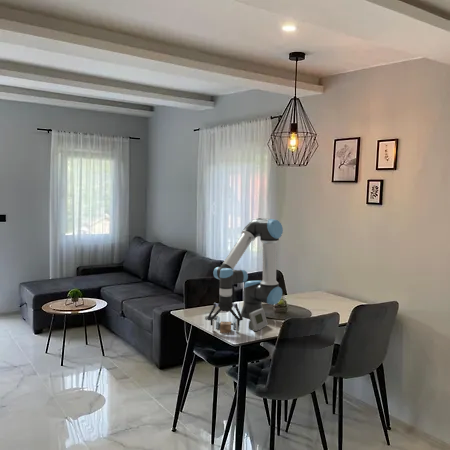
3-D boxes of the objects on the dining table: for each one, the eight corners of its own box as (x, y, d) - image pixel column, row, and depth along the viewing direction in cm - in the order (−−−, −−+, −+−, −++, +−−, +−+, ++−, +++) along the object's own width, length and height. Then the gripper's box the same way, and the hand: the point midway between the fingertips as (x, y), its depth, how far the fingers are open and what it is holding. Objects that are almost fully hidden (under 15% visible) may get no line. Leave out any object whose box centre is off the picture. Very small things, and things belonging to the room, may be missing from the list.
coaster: (219, 316, 299) (219, 315, 299) (218, 320, 290) (218, 319, 290) (205, 316, 299) (205, 315, 299) (204, 319, 291) (204, 318, 290)
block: (231, 330, 270) (231, 321, 270) (230, 333, 264) (230, 324, 264) (220, 329, 270) (221, 321, 270) (220, 332, 264) (220, 324, 264)
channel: (235, 323, 283) (236, 317, 283) (235, 329, 271) (235, 322, 271) (217, 323, 284) (217, 316, 283) (216, 328, 272) (216, 322, 271)
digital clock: (254, 332, 266) (255, 314, 265) (243, 329, 272) (243, 311, 271) (271, 327, 278) (272, 309, 277) (260, 324, 284) (260, 307, 283)
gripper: (247, 294, 268) (246, 330, 269) (204, 293, 269) (204, 328, 271) (247, 297, 260) (246, 334, 262) (203, 295, 262) (202, 332, 263)
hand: (224, 331), depth 266 cm, fingers open, 13 cm apart
